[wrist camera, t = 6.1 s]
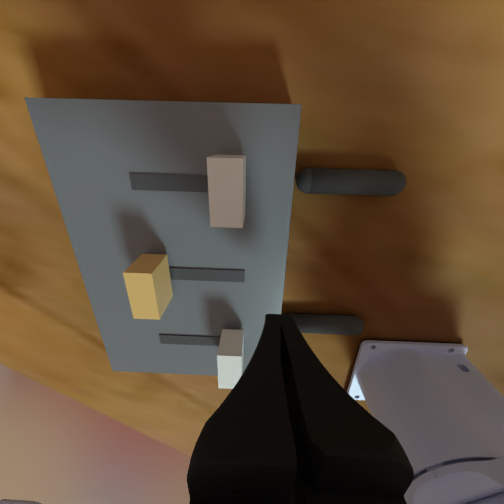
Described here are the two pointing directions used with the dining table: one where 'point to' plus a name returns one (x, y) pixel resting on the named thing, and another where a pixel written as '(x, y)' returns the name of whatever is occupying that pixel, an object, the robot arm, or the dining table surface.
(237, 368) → the paddle
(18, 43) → the dining table surface
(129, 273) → the paddle middle
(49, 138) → the grey slider panel
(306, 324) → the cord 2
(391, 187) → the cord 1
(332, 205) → the dining table surface
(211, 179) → the paddle
